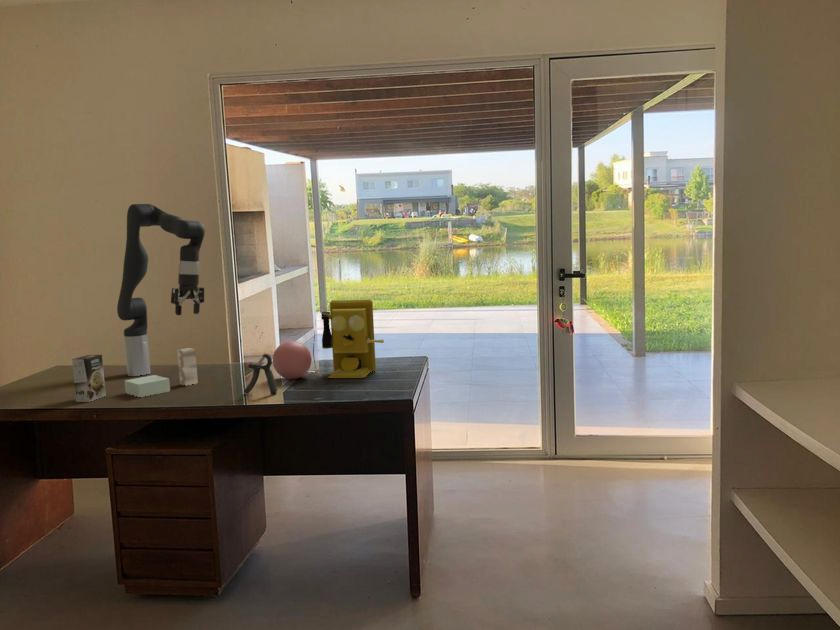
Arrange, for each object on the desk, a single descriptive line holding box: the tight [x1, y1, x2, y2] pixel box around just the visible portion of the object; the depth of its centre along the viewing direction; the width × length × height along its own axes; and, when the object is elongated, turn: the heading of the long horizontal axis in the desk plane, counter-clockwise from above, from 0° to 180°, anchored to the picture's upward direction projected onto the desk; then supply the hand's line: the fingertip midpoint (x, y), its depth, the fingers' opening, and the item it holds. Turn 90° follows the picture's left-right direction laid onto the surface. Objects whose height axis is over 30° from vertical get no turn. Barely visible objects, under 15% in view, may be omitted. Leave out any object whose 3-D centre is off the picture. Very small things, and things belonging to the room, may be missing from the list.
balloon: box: [272, 340, 313, 380], centre depth 284 cm, size 15×20×15 cm
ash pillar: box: [176, 347, 199, 387], centre depth 279 cm, size 5×5×14 cm
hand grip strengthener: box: [243, 353, 278, 395], centre depth 257 cm, size 2×13×15 cm, turn 78°
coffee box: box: [71, 354, 107, 403], centre depth 260 cm, size 9×6×16 cm
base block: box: [124, 374, 171, 398], centre depth 268 cm, size 12×12×5 cm
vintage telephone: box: [312, 299, 384, 379], centre depth 283 cm, size 31×14×30 cm, turn 80°
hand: (187, 314), depth 272 cm, fingers open, 8 cm apart
